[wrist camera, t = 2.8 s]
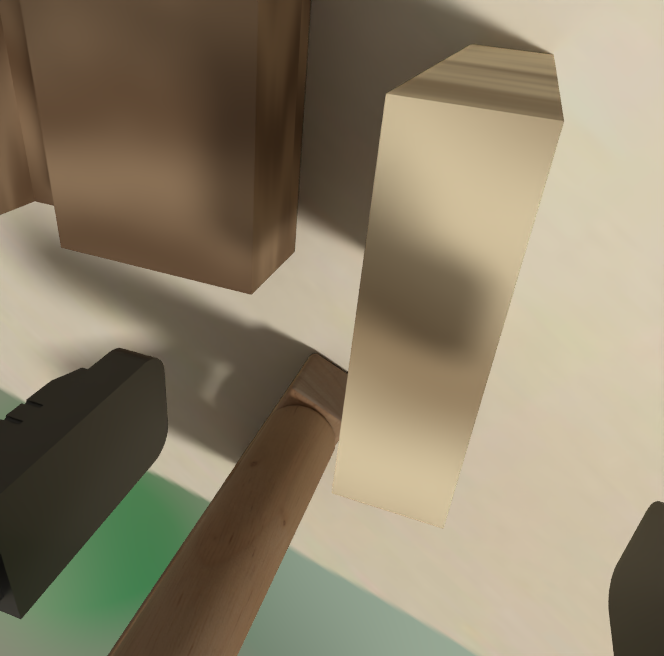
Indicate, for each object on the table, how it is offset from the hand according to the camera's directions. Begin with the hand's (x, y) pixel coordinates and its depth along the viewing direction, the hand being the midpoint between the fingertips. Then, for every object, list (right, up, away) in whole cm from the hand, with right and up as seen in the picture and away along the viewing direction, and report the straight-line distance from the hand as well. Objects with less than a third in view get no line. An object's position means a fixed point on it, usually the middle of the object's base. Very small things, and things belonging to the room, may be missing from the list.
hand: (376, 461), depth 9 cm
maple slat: (+6, +8, +14) cm, 18 cm away
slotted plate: (-13, +15, +18) cm, 27 cm away
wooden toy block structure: (-3, -3, +24) cm, 25 cm away
